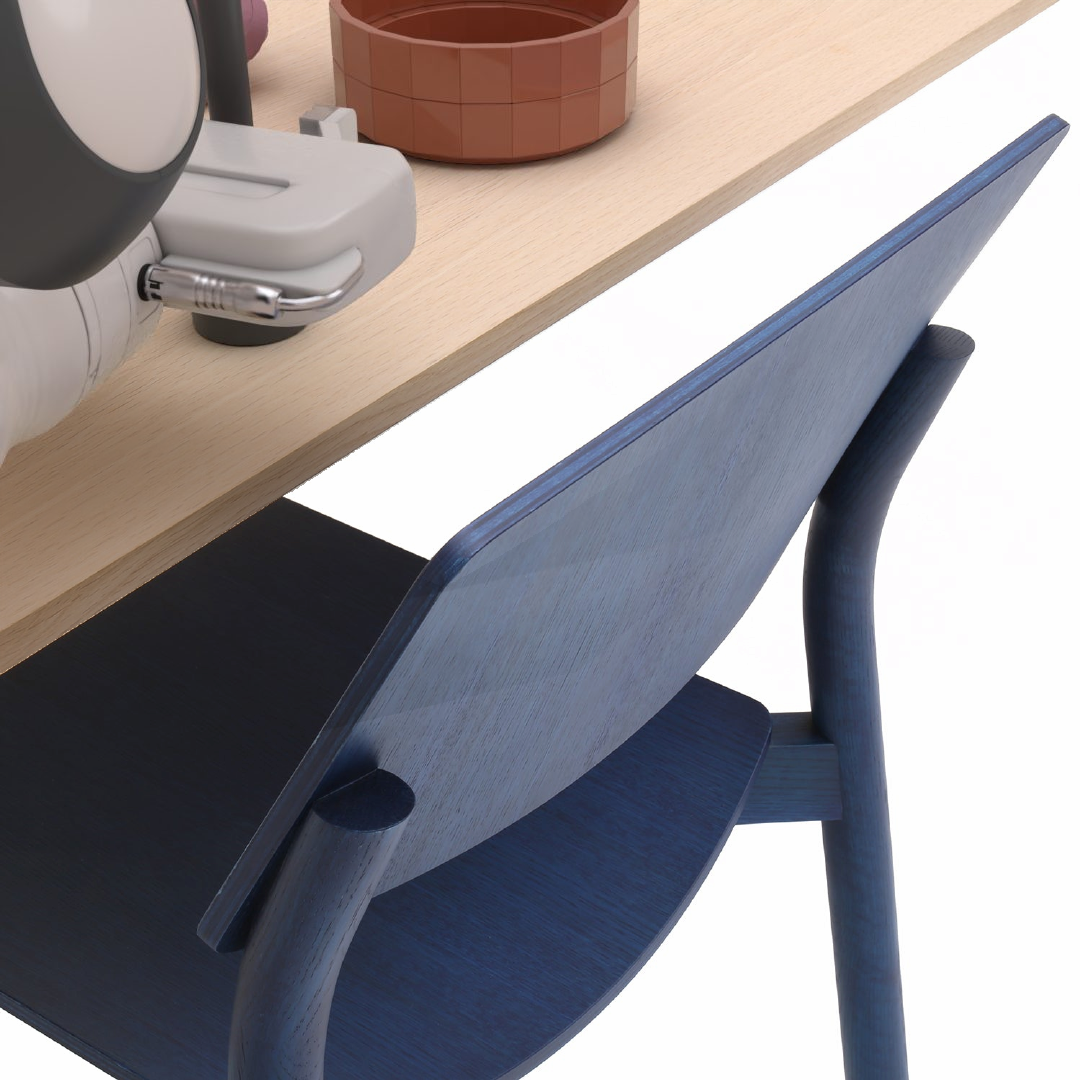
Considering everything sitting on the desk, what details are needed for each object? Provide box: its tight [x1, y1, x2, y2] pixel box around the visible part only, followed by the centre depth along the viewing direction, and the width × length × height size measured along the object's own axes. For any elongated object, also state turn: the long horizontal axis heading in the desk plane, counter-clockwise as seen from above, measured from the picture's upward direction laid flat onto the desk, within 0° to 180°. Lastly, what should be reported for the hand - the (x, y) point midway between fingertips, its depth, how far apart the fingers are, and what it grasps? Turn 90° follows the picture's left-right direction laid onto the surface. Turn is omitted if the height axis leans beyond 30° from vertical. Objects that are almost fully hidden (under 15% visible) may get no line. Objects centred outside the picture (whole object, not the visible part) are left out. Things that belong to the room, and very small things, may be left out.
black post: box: [191, 0, 307, 346], centre depth 64 cm, size 5×5×16 cm
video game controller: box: [193, 0, 269, 103], centre depth 89 cm, size 10×5×7 cm, turn 31°
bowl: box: [328, 0, 641, 165], centre depth 85 cm, size 15×15×6 cm
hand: (224, 108), depth 63 cm, fingers open, 8 cm apart
